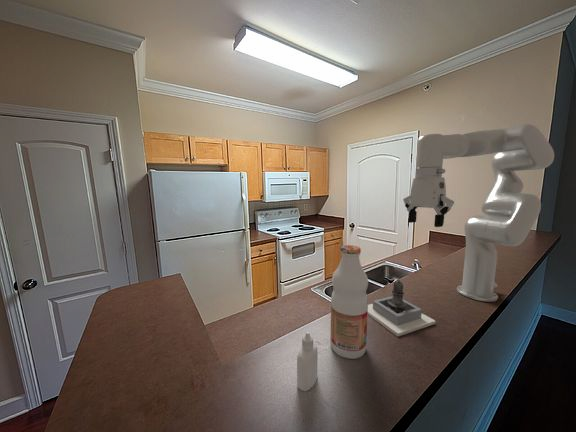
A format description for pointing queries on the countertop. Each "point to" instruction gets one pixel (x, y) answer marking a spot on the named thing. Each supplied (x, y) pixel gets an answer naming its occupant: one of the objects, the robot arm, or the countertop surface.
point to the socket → (398, 317)
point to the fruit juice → (349, 305)
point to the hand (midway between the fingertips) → (424, 224)
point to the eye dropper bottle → (307, 363)
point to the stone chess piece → (397, 298)
